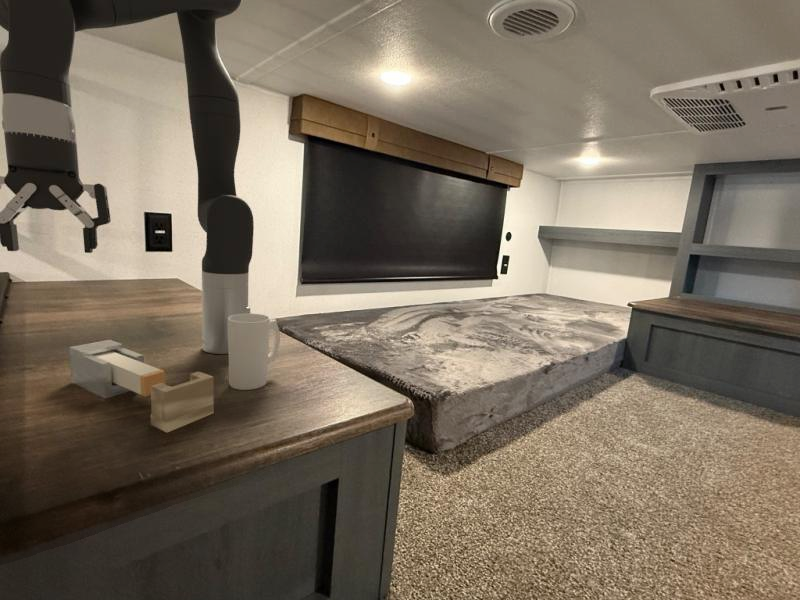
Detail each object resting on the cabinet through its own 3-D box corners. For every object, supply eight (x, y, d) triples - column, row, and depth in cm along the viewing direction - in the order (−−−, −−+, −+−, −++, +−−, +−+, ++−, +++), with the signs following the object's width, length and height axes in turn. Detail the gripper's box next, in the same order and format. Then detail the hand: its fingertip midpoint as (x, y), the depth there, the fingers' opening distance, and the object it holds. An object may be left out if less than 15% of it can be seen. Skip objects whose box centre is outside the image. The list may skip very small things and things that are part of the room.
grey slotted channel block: (71, 382, 64) (69, 347, 63) (111, 372, 69) (109, 339, 68) (105, 398, 59) (103, 360, 58) (144, 386, 64) (143, 351, 63)
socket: (150, 424, 53) (149, 385, 52) (198, 406, 59) (197, 371, 58) (167, 432, 51) (166, 392, 50) (213, 413, 58) (213, 376, 57)
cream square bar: (81, 368, 64) (80, 350, 64) (101, 363, 67) (100, 346, 67) (145, 396, 56) (144, 376, 56) (165, 389, 59) (165, 371, 59)
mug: (242, 394, 65) (243, 324, 62) (219, 383, 68) (219, 316, 66) (290, 378, 73) (292, 316, 71) (267, 369, 76) (268, 309, 74)
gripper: (108, 148, 61) (114, 251, 64) (-19, 131, 54) (-5, 247, 57) (100, 140, 55) (108, 255, 58) (-44, 120, 48) (-27, 252, 51)
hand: (52, 251), depth 57 cm, fingers open, 8 cm apart
